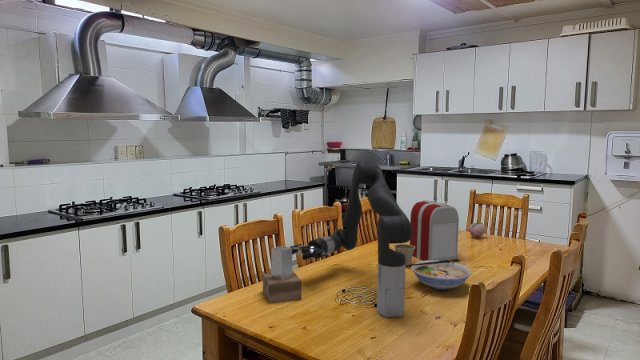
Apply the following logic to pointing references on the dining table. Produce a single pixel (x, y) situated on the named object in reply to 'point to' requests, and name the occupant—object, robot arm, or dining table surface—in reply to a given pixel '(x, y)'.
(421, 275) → the ramen bowl
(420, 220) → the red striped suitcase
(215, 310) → the dining table surface
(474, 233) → the decorative fruit
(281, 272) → the steel tea tin
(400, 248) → the flower pot
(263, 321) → the dining table surface
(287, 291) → the walnut box
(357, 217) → the robot arm
